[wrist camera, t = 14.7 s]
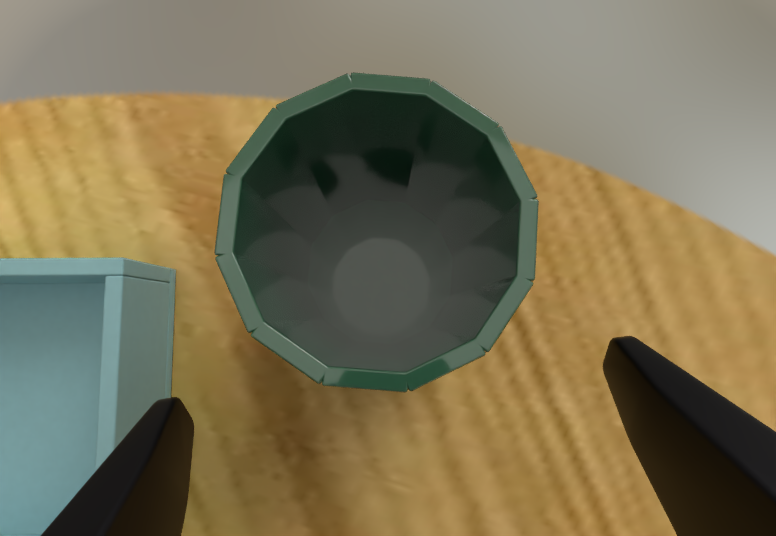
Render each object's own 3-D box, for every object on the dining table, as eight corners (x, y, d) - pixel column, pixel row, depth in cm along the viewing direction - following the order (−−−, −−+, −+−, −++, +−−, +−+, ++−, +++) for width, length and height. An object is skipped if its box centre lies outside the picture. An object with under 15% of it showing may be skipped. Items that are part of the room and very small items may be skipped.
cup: (341, 378, 19) (297, 447, 9) (276, 235, 20) (167, 152, 10) (485, 309, 19) (593, 302, 10) (417, 170, 20) (450, 26, 10)
